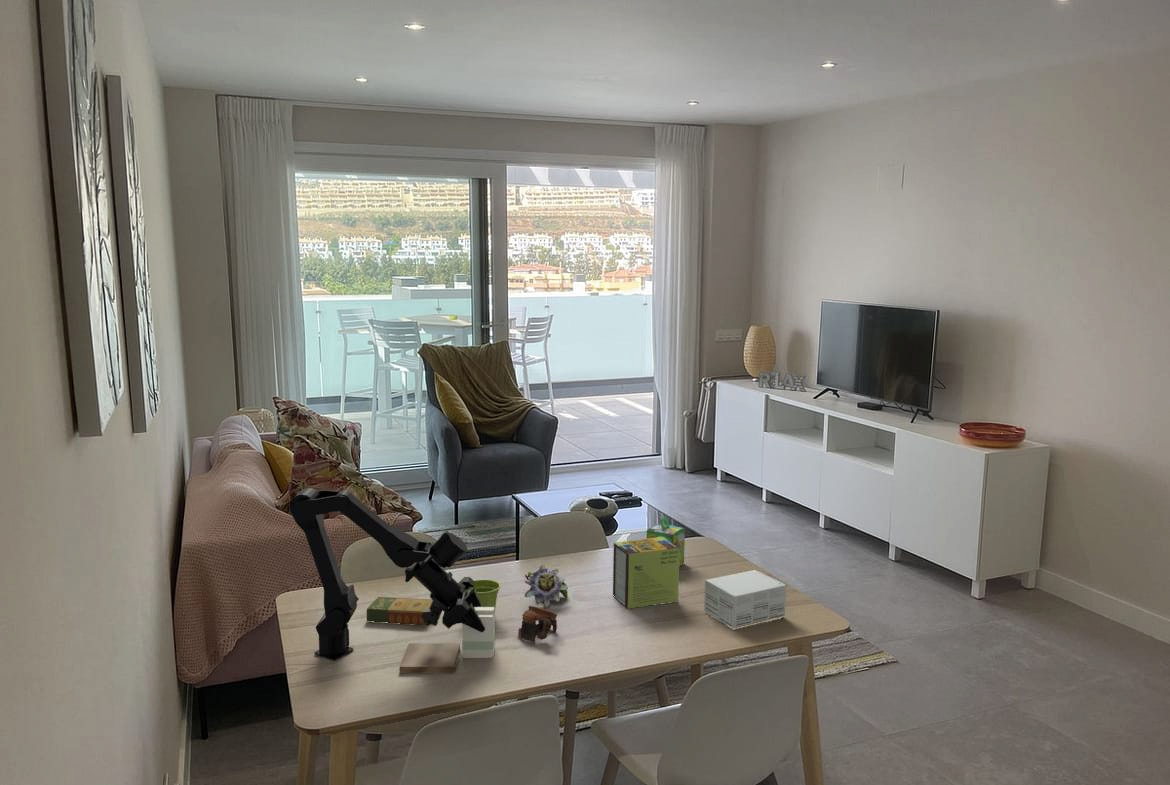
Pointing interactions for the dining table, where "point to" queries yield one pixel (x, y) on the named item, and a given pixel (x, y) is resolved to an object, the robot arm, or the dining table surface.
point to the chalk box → (669, 535)
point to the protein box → (645, 572)
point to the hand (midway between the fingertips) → (484, 625)
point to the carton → (398, 610)
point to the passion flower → (545, 586)
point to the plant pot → (486, 592)
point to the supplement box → (744, 598)
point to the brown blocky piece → (533, 629)
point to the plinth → (430, 658)
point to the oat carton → (480, 636)
